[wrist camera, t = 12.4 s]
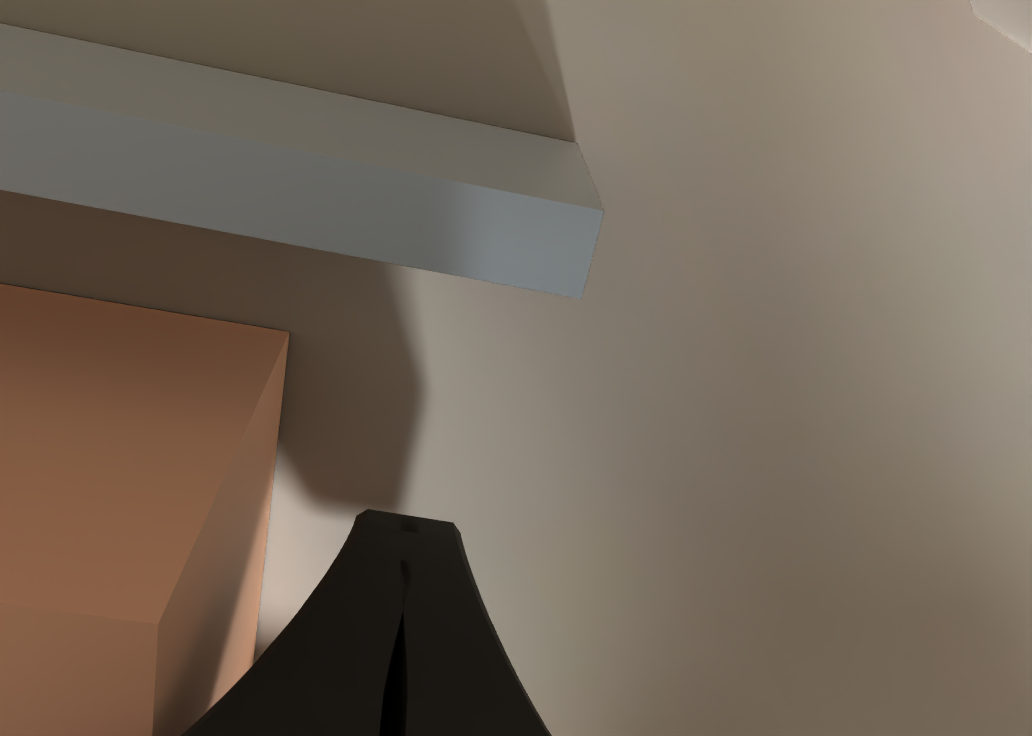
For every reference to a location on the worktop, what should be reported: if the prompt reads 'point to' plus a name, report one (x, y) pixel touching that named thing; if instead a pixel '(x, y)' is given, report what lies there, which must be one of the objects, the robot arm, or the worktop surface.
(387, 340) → the worktop surface
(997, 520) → the worktop surface
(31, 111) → the tray
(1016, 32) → the mug
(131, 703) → the block
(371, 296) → the worktop surface
